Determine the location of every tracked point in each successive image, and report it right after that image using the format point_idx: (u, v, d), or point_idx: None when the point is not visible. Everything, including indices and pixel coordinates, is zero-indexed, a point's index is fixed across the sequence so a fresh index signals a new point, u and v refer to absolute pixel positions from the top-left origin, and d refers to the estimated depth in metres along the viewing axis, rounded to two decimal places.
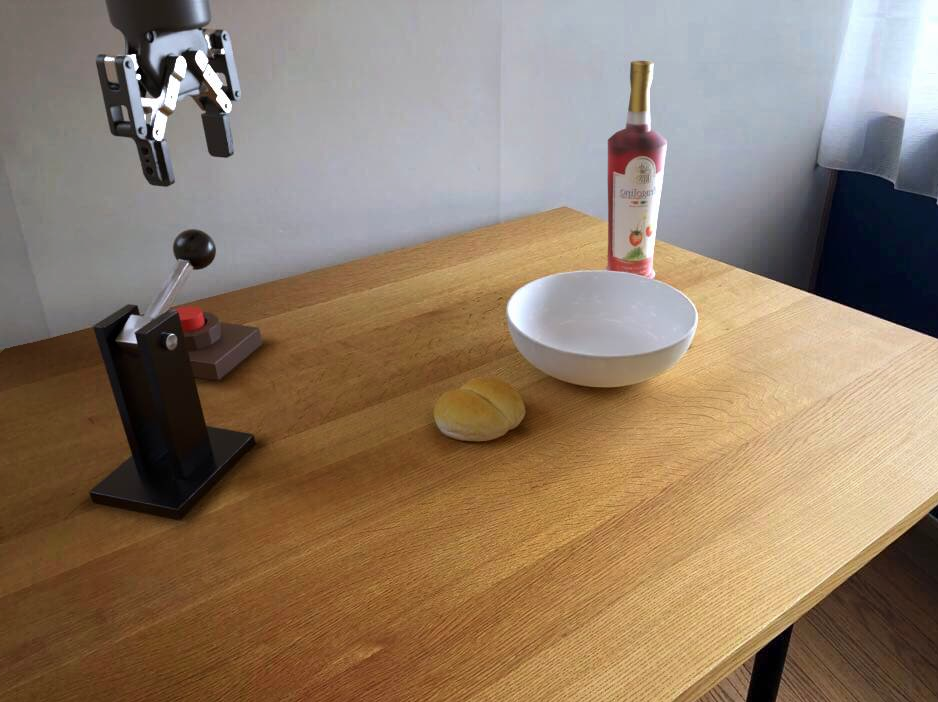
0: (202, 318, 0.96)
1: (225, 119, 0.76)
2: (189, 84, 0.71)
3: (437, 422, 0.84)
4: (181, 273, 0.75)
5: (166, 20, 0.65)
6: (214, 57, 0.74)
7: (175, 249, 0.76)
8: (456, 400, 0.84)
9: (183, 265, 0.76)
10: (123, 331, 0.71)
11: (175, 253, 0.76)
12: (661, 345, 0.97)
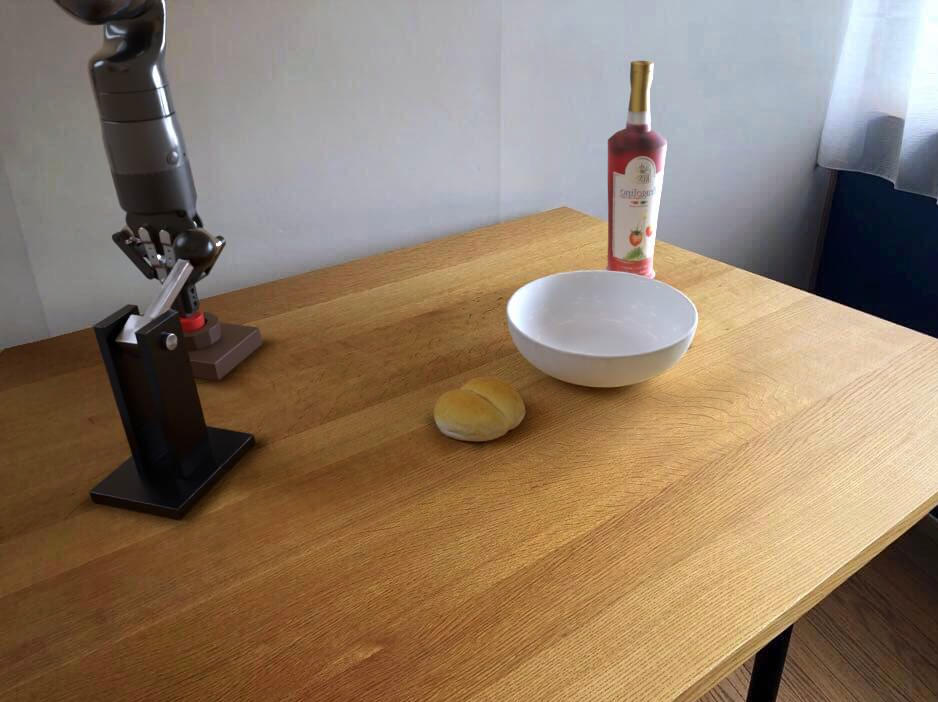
0: (202, 320, 0.96)
1: None
2: None
3: (437, 422, 0.84)
4: (181, 273, 0.75)
5: None
6: None
7: (175, 249, 0.76)
8: (456, 400, 0.84)
9: (183, 265, 0.76)
10: (123, 331, 0.71)
11: (175, 253, 0.76)
12: (661, 345, 0.97)
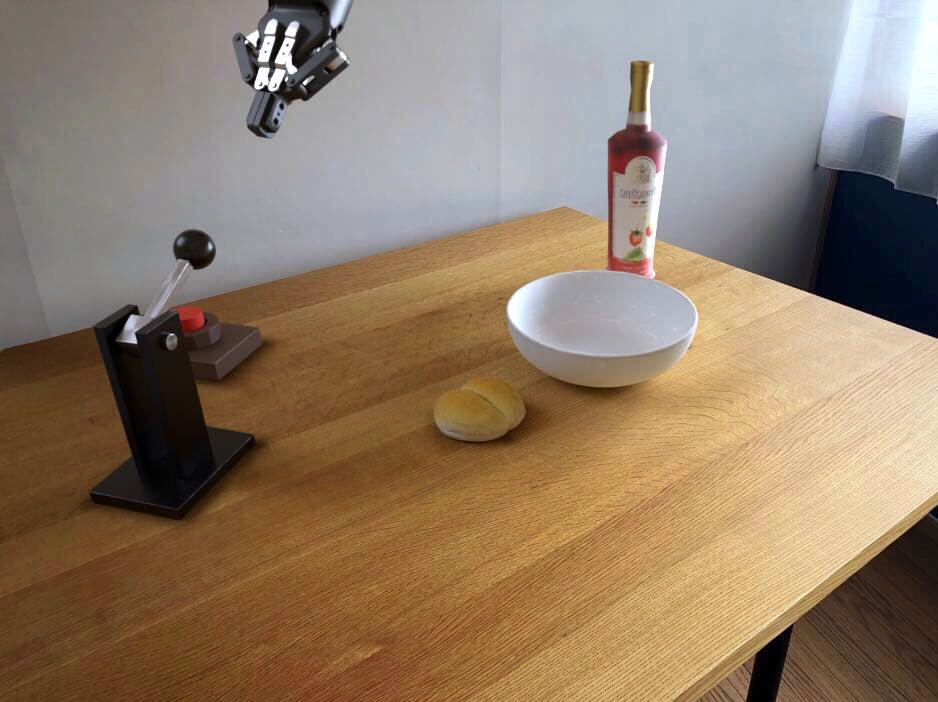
0: (202, 318, 0.96)
1: (266, 95, 0.80)
2: None
3: (437, 422, 0.84)
4: (181, 273, 0.75)
5: None
6: None
7: (175, 249, 0.76)
8: (456, 400, 0.84)
9: (183, 265, 0.76)
10: (123, 331, 0.71)
11: (175, 253, 0.76)
12: (661, 345, 0.97)
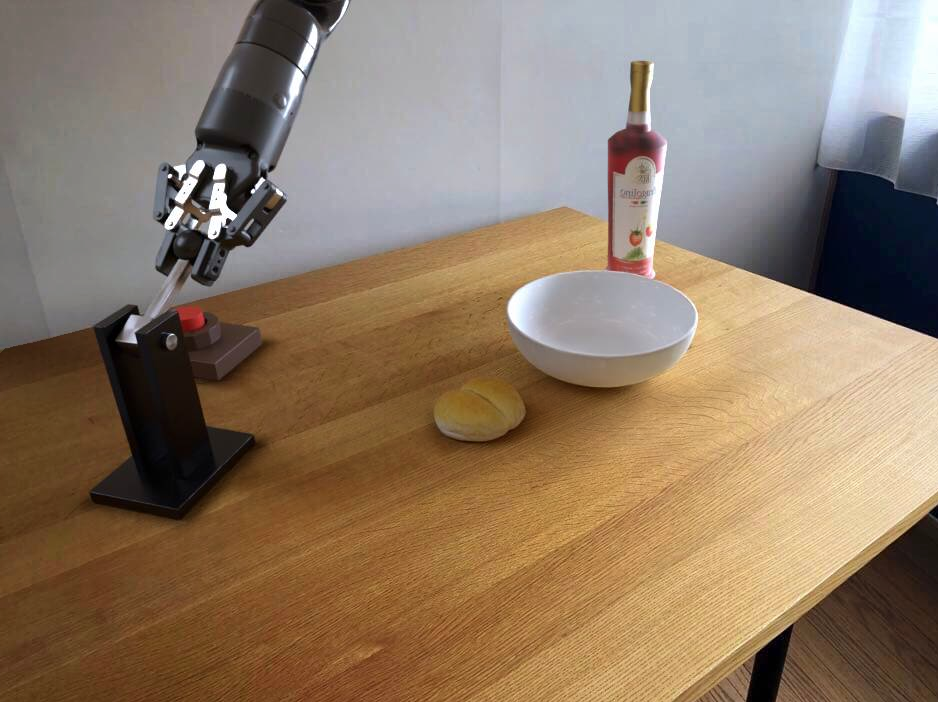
0: (202, 318, 0.96)
1: (205, 243, 0.76)
2: (210, 192, 0.77)
3: (437, 422, 0.84)
4: (181, 273, 0.75)
5: None
6: None
7: (175, 249, 0.76)
8: (456, 400, 0.84)
9: (183, 265, 0.76)
10: (123, 331, 0.71)
11: (175, 253, 0.76)
12: (661, 345, 0.97)
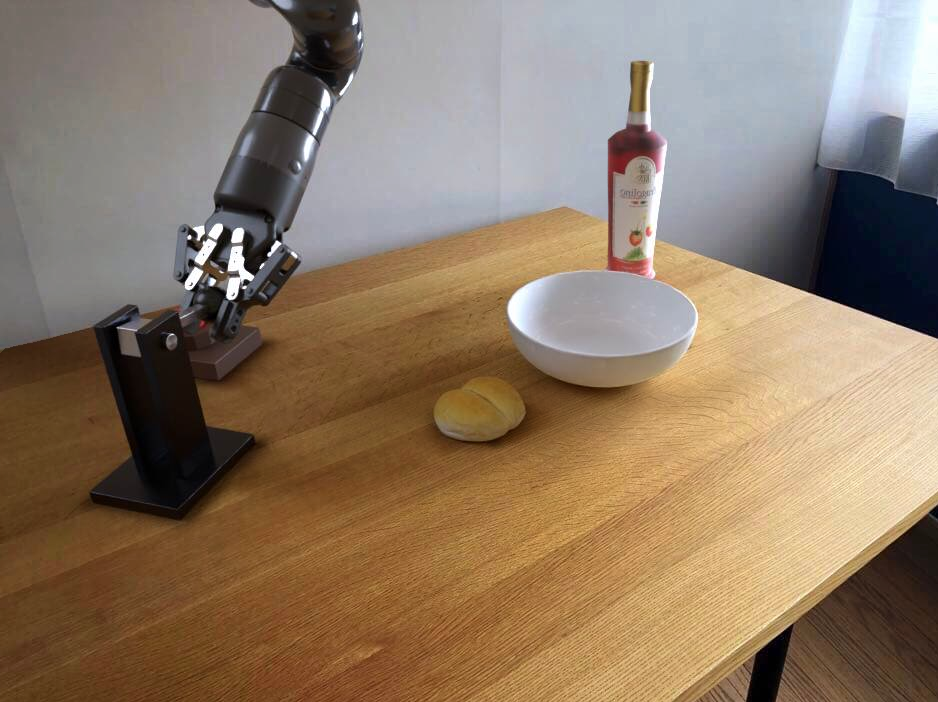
0: None
1: (224, 303, 0.79)
2: (228, 254, 0.81)
3: (437, 422, 0.84)
4: (197, 310, 0.78)
5: (215, 191, 0.82)
6: None
7: (196, 296, 0.80)
8: (456, 400, 0.84)
9: (200, 307, 0.79)
10: (127, 323, 0.72)
11: (195, 299, 0.80)
12: (661, 345, 0.97)
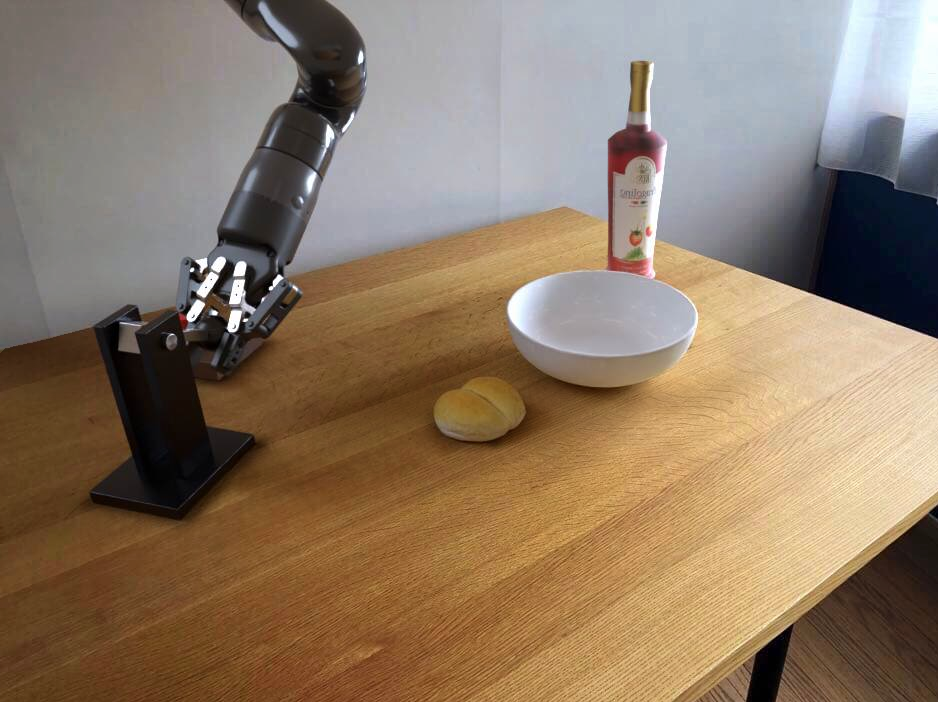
0: None
1: (225, 336, 0.80)
2: (230, 287, 0.82)
3: (437, 422, 0.84)
4: (198, 330, 0.79)
5: (218, 225, 0.83)
6: None
7: (199, 321, 0.81)
8: (456, 400, 0.84)
9: (202, 329, 0.79)
10: (130, 322, 0.72)
11: (198, 324, 0.81)
12: (661, 345, 0.97)
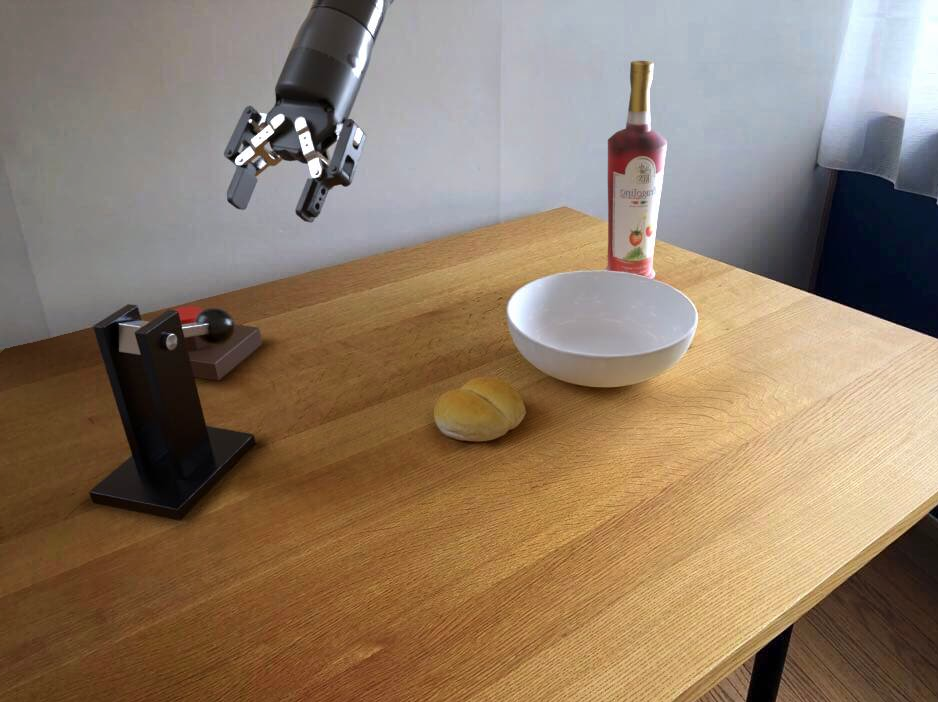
0: None
1: (309, 181, 0.83)
2: (290, 142, 0.85)
3: (437, 422, 0.84)
4: (198, 325, 0.79)
5: None
6: None
7: (199, 314, 0.81)
8: (456, 400, 0.84)
9: (202, 323, 0.79)
10: (129, 322, 0.72)
11: (198, 317, 0.80)
12: (661, 345, 0.97)
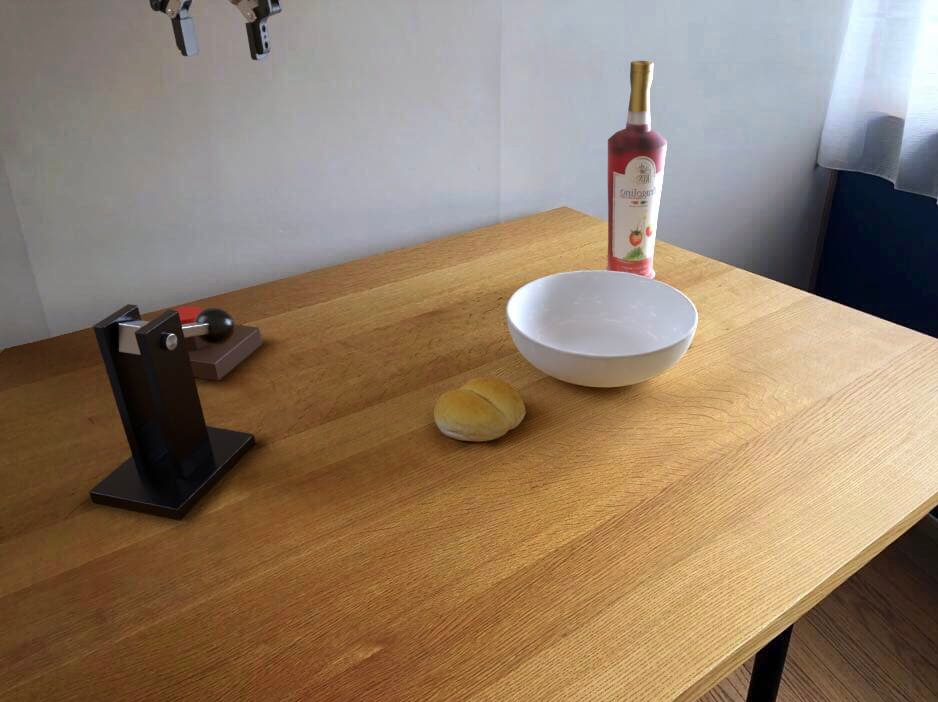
0: None
1: (248, 26, 0.89)
2: None
3: (437, 422, 0.84)
4: (198, 325, 0.79)
5: None
6: None
7: (199, 314, 0.81)
8: (456, 400, 0.84)
9: (202, 323, 0.79)
10: (129, 322, 0.72)
11: (198, 317, 0.80)
12: (661, 345, 0.97)
